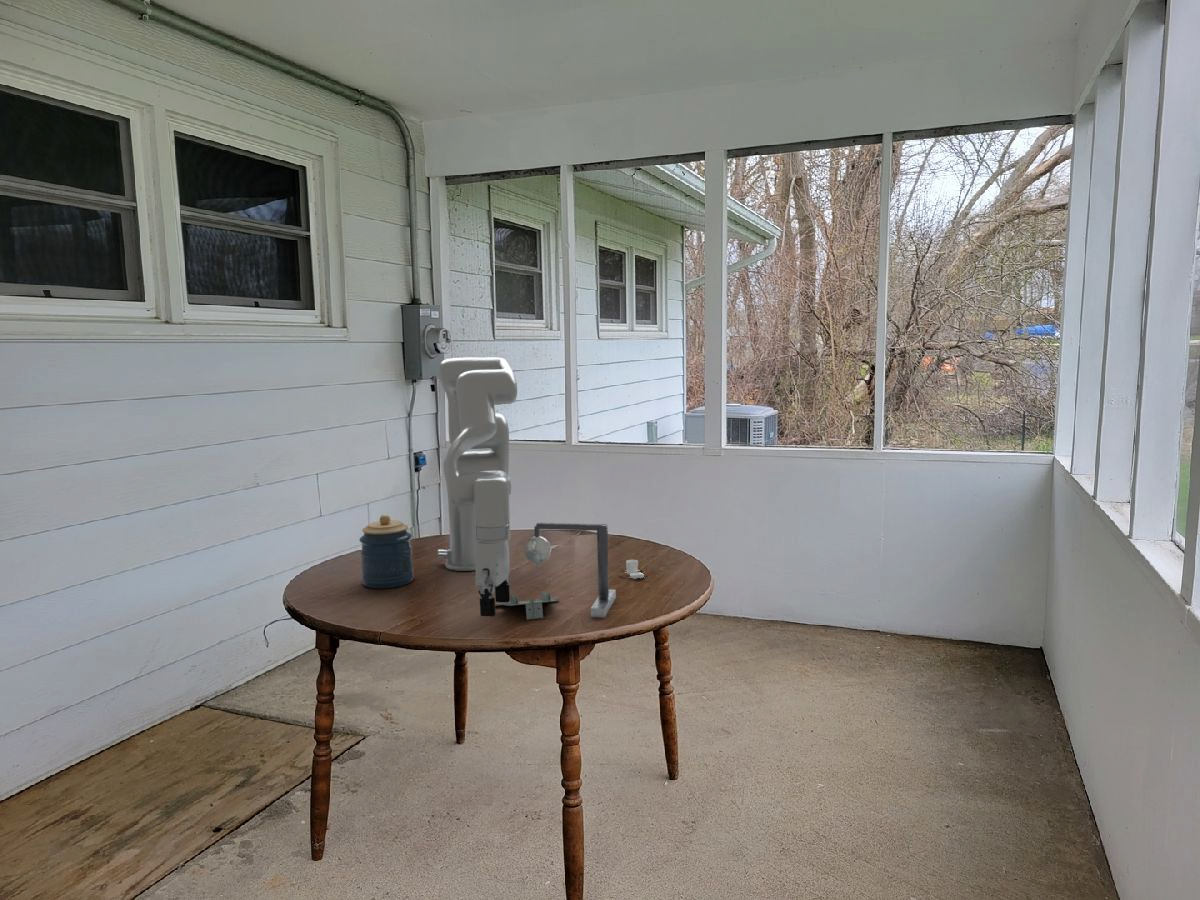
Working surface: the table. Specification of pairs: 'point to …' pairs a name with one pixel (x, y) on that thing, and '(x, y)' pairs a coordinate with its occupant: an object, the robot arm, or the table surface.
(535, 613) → the metal bracket
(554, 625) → the table surface
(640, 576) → the white ring with cylinder
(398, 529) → the canister
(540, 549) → the metal desk lamp
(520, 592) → the table surface
